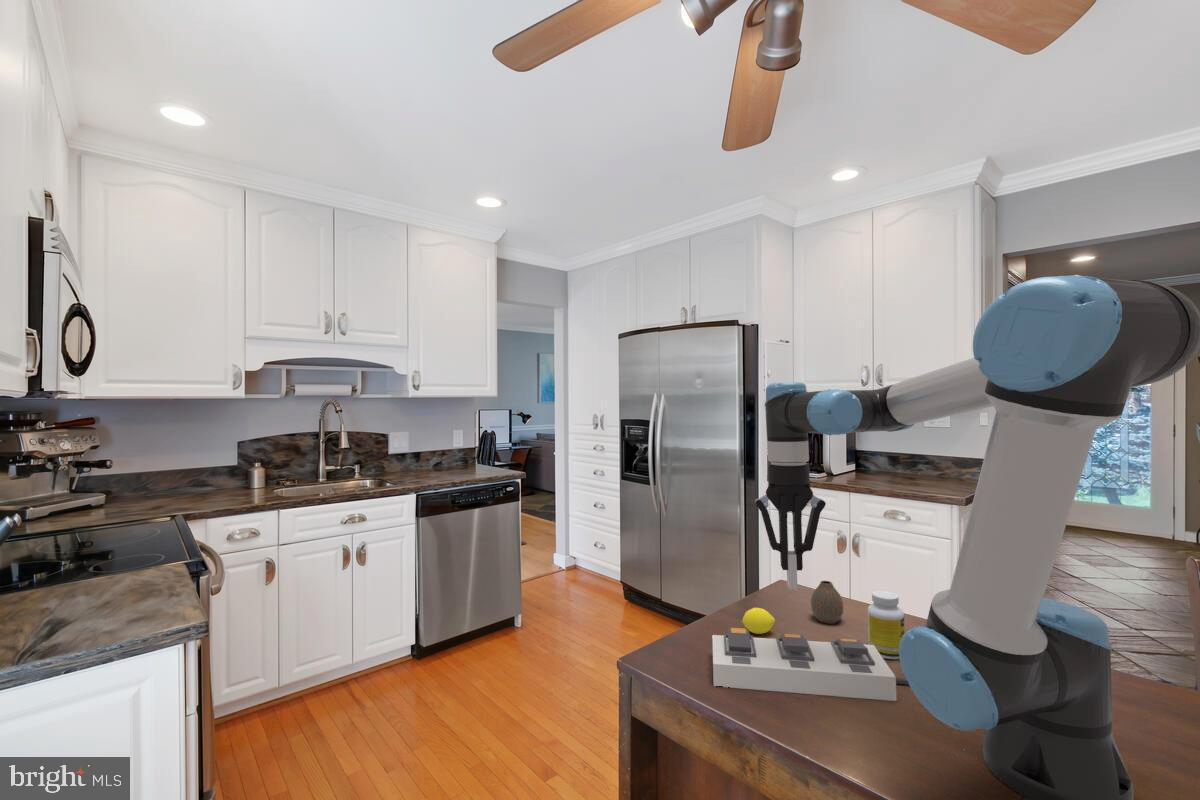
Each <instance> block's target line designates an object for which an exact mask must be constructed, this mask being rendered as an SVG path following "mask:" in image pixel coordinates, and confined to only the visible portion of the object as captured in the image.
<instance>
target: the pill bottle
mask: <svg viewBox="0 0 1200 800" xmlns="http://www.w3.org/2000/svg"><path fill="white" fill-rule="evenodd" d="M899 599H900V598H899V595H898V594H896V593H894V592H891V591H886V590H874V591H872V592H871V600H872V602H873V603H872V604H870V605H869V606H868V607H867V634H868V636H867V637H868V640H867V641H868V644H867V645H874V646H875V648H876V649H877V651H878V652H879V653H880V655H881V656H882V658H883V659H888V660H900V658H899V645H900V641H901V638H902V637H903V635H904V634H905V633H906V632H905V614H904V611H903V610H902V608H901V607H899V606H898V605H899Z"/></svg>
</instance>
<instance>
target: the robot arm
mask: <svg viewBox="0 0 1200 800" xmlns="http://www.w3.org/2000/svg"><path fill="white" fill-rule="evenodd" d="M1199 349H1200V311H1199V309H1198V308H1197V306H1196V304H1194V303H1193V301H1192V300H1191V299H1190V298H1189V297H1187V296H1186V295H1184V294H1183V293H1182V292H1180V291H1179V290H1177V289H1175V288H1173V287H1171V286H1168V285H1165V284H1162V283H1158V282H1155V281H1148V280H1147V281H1146V280H1138V279H1128V280H1126V279H1117V278H1115V279H1113V278H1105V277H1096V276H1088V275H1087V276H1086V275H1079V274H1074V275H1058V276H1055V275H1054V276H1042V277H1037V278H1032V279H1029V280H1028V279H1027V280H1025V281H1023V282H1020V283H1018V284H1016V285H1014V286H1012V287H1011V288H1009V289H1007V291H1005V292H1004V293H1002V294H1000V295H999V296H998V297H996V298H995V299H994V300H993V301H992V302H991V303H990V304H989V305H988V306H987V308H986V309H985V310H984V312H983V313H982V315H981V316H980V318H979V320H978V322H977V323H976V326H975V329H974V333H973V338H972V352H973V357H972V358H969V359H966V360H963V361H959V362H956V363H954V364H951V365H950V364H949V365H947V366H944V367H941V368H939V369H936V370H932V371H930V372H926V373H923V374H920V375H917V376H915V377H914V376H913V377H910V378H908V379H904V380H902V381H899V382H896V383H894V384H891V385H890V384H889V385H887V386H884V387H881V388H878V389H877V388H876V389H863V390H861V389H860V390H858V389H857V390H856V389H855V390H850V389H849V390H848V389H847V390H844V389H824V390H817V391H816V390H815V391H807V390H808V389H807V385H806V383H804V382H801V381H798V382H797V381H793V382H791V381H790V382H788V381H787V382H773V383H769V384H768V385H766V388H765V402H764V407H765V427H766V428H765V429H766V446H767V447H766V450H767V453H766V454H767V461H768V462H770V463H768V465H767V480H768V481H767V482H768V483H767V484H768V485H767V488H766V490H765V494H763V495H762V496H760V497H758V498H755V499H754V503H755V505H756V507H757V508H758V509H759V510H760V513H761V518H762V520H763V521H762V522H763V524H764V528H765V532H766V534H767V535H766V536H767V538H768V542H769V545H770V547H771V550H773V551H777V552H778V553H780V554H779V555H780V567H781V570H782V571H786V586H787V587H788V589H789V590H798V571H803V568H804V565H803V564H804V563H803V555H804V553H805V552H811V551H812V550H813V548H814V543H815V538H816V534H817V529H818V526H819V520H820V516H821V513H822V511H823V509H824V508H825V507H826V504H827V503H826V501H824V499H822V498H819V497H817V496H816V495H814V492H813V489H812V488H811V480H810V466H809V464H808V463H807V462H809V460H810V453H809V435H808V434H818V435H819V434H821V435H827V436H834V435H835V436H840V435H846V434H849V433H850V434H851V433H864V432H865V433H867V432H892V433H893V432H896V431H897V432H898V431H903V430H904V431H905V430H908V429H911V428H912V427H913V426H914V425H915V424H920V423H924V422H928V421H934V420H937V419H942V418H947V417H951V416H955V415H960V414H964V413H968V412H972V411H977V410H981V409H986V408H990V407H994V409H995V416H994V418H993V422H992V425H991V430H990V435H989V438H988V442H987V446H986V449H985V453H984V458H983V460H982V465H981V468H980V473H979V476H978V481H977V484H976V488H975V492H974V496H973V500H972V503H971V507H970V512H969V515H968V519H967V524H966V526H965V531H964V534H963V538H962V543H961V547H960V550H959V554H958V557H957V560H956V566H955V570H954V574H953V576H952V581H951V585H950V588H949V589H945V590H941V591H938V592H937V593H935V594H934V596H933V598H932V599H931V604H930V607H929V611H928V615H927V619H926V622H925V624H924V625H923V626H921V625H918V626H915V627H912V628H911V629H909V630H908V631H906V632H905V634H904V635H903V637H902V638H901V641H900V645H899V658H900V659H899V662H900V666H901V670H902V673H903V675H904V678H906V679H907V680H908V683H909V685H908V686H909V688H910V689H911V691H912V692H913V694H914V696H916V698H917V699H918V701H919V702H920V703H921V705H922V706H923V708H925V709H926V711H928V712H929V713H930V714H931V715H932V716H934V717H935V718H936V719H937V720H938V721H940V722H941V723H943V724H944V725H947V726H948V727H950V728H953V729H956V730H958V731H965V732H970V731H976V730H984V731H985V733H984V736H983V739H982V749H983V751H982V752H983V753H982V754H983V755H982V756H983V757H982V758H983V762H985V764H986V766H987V768H988V770H990V772H991V773H992V774H993V776H995V777H996V778H997V779H998V780H999V781H1000V782H1002V783H1003V784H1004V785H1006V786H1007V787H1008V788H1010V789H1012V790H1013V791H1014V792H1016V793H1018V794H1020V795H1021V796H1023V797H1024V798H1026V799H1028V800H1134V799H1135V796H1134V794H1135V793H1134V786H1133V782H1132V779H1131V778H1130V774H1129V773H1128V770H1127V768H1126V764H1125V763H1124V761H1123V758H1122V755H1121V753H1120V751H1119V749H1118V745H1117V744H1116V741H1115V738H1114V737H1113V736H1114V735H1113V724H1112V723H1113V722H1112V721H1113V719H1112V717H1113V716H1112V712H1113V711H1112V709H1113V708H1112V704H1113V703H1112V667H1111V666H1112V665H1111V663H1112V661H1111V651H1112V650H1113V649H1112V648H1113V647H1112V645H1111V644H1110V634H1109V628H1108V626H1107V624H1106V622H1105V621H1104V620H1103V619H1102V618H1101V617H1100V616H1098V615H1097V614H1096V613H1093V612H1091V611H1089V610H1087V609H1085V608H1081V607H1078V606H1076V605H1073V604H1070V603H1066V602H1062V601H1058V600H1056V599H1051V598H1048V597H1044V596H1045V593H1046V589H1047V588H1048V587H1047V586H1048V584H1049V581H1050V577H1051V574H1052V571H1053V567H1054V564H1055V561H1056V558H1057V555H1058V552H1059V548H1060V544H1061V543H1062V539H1063V536H1064V532H1065V529H1066V526H1067V523H1068V520H1069V517H1070V513H1071V510H1072V507H1073V504H1074V500H1075V497H1076V494H1077V491H1078V488H1079V486H1080V481H1081V479H1082V476H1083V472H1084V470H1085V466H1086V463H1087V460H1088V457H1089V453H1090V449H1091V446H1092V443H1093V441H1094V439H1095V434H1096V431H1097V430H1098V429H1099V428H1100V427H1103V426H1105V425H1107V424H1110V423H1112V422H1114V421H1116V420H1119V419H1121V417H1122V415H1123V412H1124V409H1125V406H1126V403H1127V400H1128V398H1129V395H1130V391H1131V388H1134V387H1135V388H1136V387H1140V386H1141V387H1142V386H1147V385H1151V384H1155V383H1158V382H1160V381H1163V380H1165V379H1167V378H1169V377H1172V376H1174V375H1175V374H1176V373H1178V372H1179V371H1180V370H1182V369H1183V368H1185V367H1186V366H1187V364H1189V363H1190V361H1192V359H1194V357H1195V355H1196V354H1197V353H1198V350H1199ZM769 501H770V502H771V504H772V505H773V506H774V507H775V510H778V511H777V512H778V529H779V530H778V531H779V532H778V533H779V536H778V537H779V542H777V541H778V540H777V539H776V535H775V531H774V527H773V524H772V520H771V517H770V513H769V510H768V509H767V508H768V507H769V506H770V505H769V503H768V502H769ZM809 502H810V507H811V508H810V513H809V517H808V521H807V527H806V532H805V535H804V539H803V525H802V524H803V523H802V519H803V517H802V515H803V514H802V511H803V510H805V508H806V507H807V506H808V504H809ZM790 512H791V514H792V535H793V537H792V538H793V550H789V536H788V533H789V532H788V530H789V529H788V513H790Z"/></svg>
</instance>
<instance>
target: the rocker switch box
mask: <svg viewBox="0 0 1200 800" xmlns="http://www.w3.org/2000/svg"><path fill="white" fill-rule="evenodd" d="M804 639H805V641H806V643H807V645H808V648H809V653H807V652H792V651H785V648H784V646H783V643H782V640H781V636H780V637H777V636H776V637H775V638H768V637H767V638H765V637H754V635H750V641H751V653H750V652H735V651H729V641H728V633H723V634H722V635H720V634H717V635H716V634H712V639H711V640H712V671H713V672H712V673H713V674H712V676H713V679H712V680H713V687H716V686H723V687H722V688H728V687H730V688H731V689H743V690H755V691H768V692H778V693H779V692H780V693H790V694H791V693H792V694H804V695H814V696H826V697H827V696H828V697H839V698H840V697H841V698H854V699H865V700H881V701H888V702H889V701H891V702H896V701H897V684H899V685H905V686H906V685H907V686H909V683H908V680H907V679H906V677H896V676H895V674H894V672H893V671H892V669H891V668H890V666H888V664H887V662H886V661H885V658H882V656H881V655H880V653H879V652H878V651H877V649H876V648H875V646H874V645H868V644H864V643H863V642H861V641H860V642H861V643H862V644H863V645H864V646H865V647H866V648H867V649H868V655H863V654H848V653H843V651H842V650H841V649H840V648H839V647H838V646H837V644H836V640H830V641H818V640H816V641H813V640H808V639H807V638H804Z"/></svg>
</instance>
